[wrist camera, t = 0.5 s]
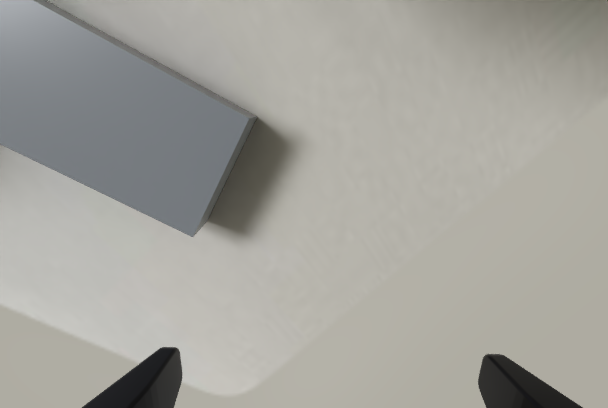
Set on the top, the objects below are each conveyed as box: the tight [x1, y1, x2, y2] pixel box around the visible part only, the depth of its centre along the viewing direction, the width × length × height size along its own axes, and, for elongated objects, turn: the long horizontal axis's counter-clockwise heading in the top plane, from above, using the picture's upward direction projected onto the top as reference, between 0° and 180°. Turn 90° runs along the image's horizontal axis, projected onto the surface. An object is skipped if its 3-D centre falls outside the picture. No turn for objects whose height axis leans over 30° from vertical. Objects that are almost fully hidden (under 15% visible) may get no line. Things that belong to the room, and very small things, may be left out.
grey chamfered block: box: [0, 0, 257, 237], centre depth 17 cm, size 16×7×2 cm, turn 62°
